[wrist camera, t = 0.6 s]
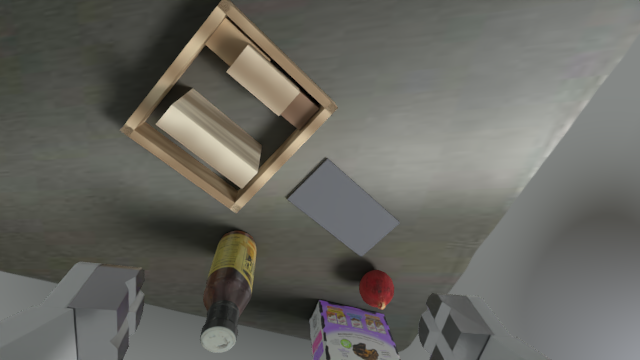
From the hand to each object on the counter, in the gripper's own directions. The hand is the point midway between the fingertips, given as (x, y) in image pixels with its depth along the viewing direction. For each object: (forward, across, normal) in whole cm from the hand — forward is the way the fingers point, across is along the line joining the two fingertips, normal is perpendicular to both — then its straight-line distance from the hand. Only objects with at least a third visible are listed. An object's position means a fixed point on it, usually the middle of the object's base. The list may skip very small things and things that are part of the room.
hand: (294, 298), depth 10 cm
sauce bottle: (+43, +3, +26) cm, 50 cm away
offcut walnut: (+42, -2, +2) cm, 42 cm away
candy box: (+43, -19, +40) cm, 62 cm away
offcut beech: (+39, +2, -1) cm, 39 cm away
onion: (+42, -21, +30) cm, 56 cm away
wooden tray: (+42, +6, +5) cm, 43 cm away
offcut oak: (+42, +6, -3) cm, 43 cm away
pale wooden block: (+42, +7, +7) cm, 43 cm away
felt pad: (+42, -14, +18) cm, 48 cm away
